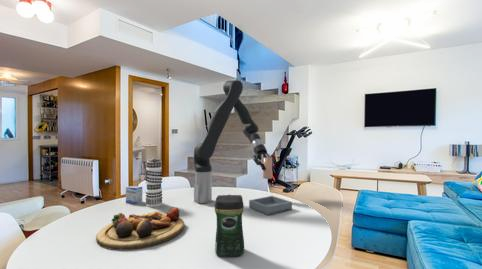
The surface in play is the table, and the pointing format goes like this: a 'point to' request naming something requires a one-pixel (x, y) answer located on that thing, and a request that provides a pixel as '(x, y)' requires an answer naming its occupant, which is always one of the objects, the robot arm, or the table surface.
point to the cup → (267, 167)
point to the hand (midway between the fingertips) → (268, 169)
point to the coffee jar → (229, 225)
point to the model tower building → (153, 182)
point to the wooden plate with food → (140, 230)
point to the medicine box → (133, 194)
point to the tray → (270, 205)
